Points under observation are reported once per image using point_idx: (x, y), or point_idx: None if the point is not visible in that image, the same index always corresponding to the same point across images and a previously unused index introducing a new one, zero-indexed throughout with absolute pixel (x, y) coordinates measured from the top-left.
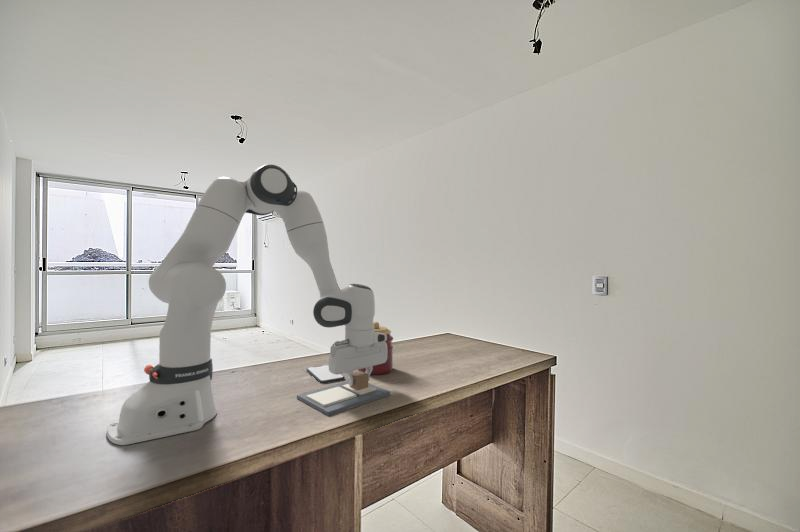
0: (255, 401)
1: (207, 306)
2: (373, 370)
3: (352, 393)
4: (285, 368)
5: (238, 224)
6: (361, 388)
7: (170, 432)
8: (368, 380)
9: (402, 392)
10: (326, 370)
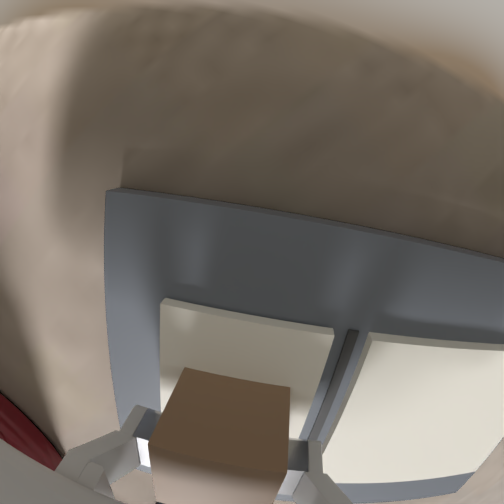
0: (493, 500)
1: None
2: (26, 437)
3: (369, 374)
4: None
5: None
6: (251, 385)
7: None
8: (144, 407)
9: (43, 158)
10: None
